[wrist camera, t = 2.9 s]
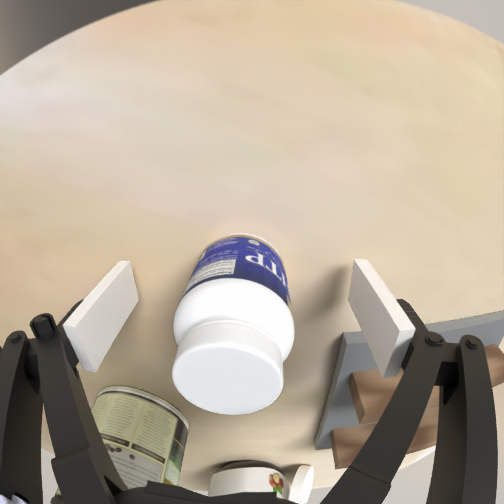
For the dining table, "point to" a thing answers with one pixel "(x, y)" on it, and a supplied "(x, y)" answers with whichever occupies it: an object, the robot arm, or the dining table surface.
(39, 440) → the robot arm
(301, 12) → the dining table surface
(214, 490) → the spread jar
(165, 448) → the coffee can
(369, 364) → the plate
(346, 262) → the dining table surface
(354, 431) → the wooden rail pair
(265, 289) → the pill bottle
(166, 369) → the dining table surface
